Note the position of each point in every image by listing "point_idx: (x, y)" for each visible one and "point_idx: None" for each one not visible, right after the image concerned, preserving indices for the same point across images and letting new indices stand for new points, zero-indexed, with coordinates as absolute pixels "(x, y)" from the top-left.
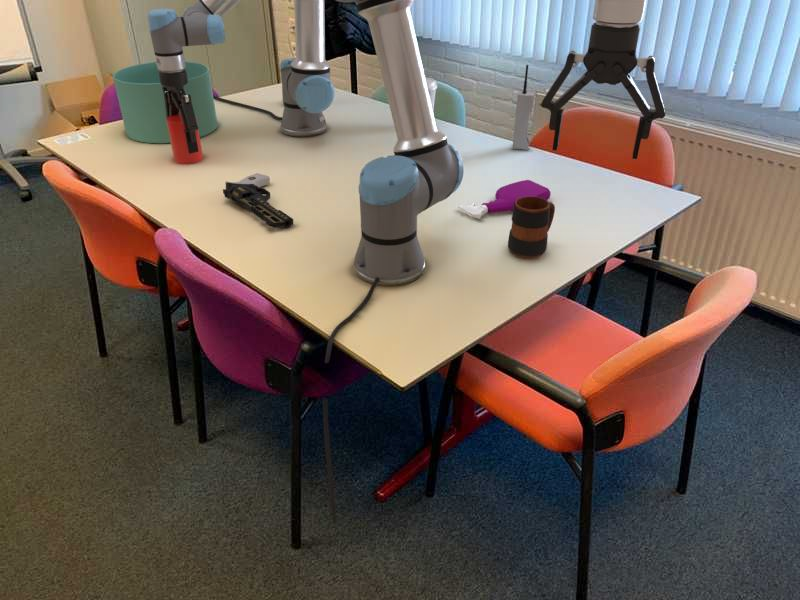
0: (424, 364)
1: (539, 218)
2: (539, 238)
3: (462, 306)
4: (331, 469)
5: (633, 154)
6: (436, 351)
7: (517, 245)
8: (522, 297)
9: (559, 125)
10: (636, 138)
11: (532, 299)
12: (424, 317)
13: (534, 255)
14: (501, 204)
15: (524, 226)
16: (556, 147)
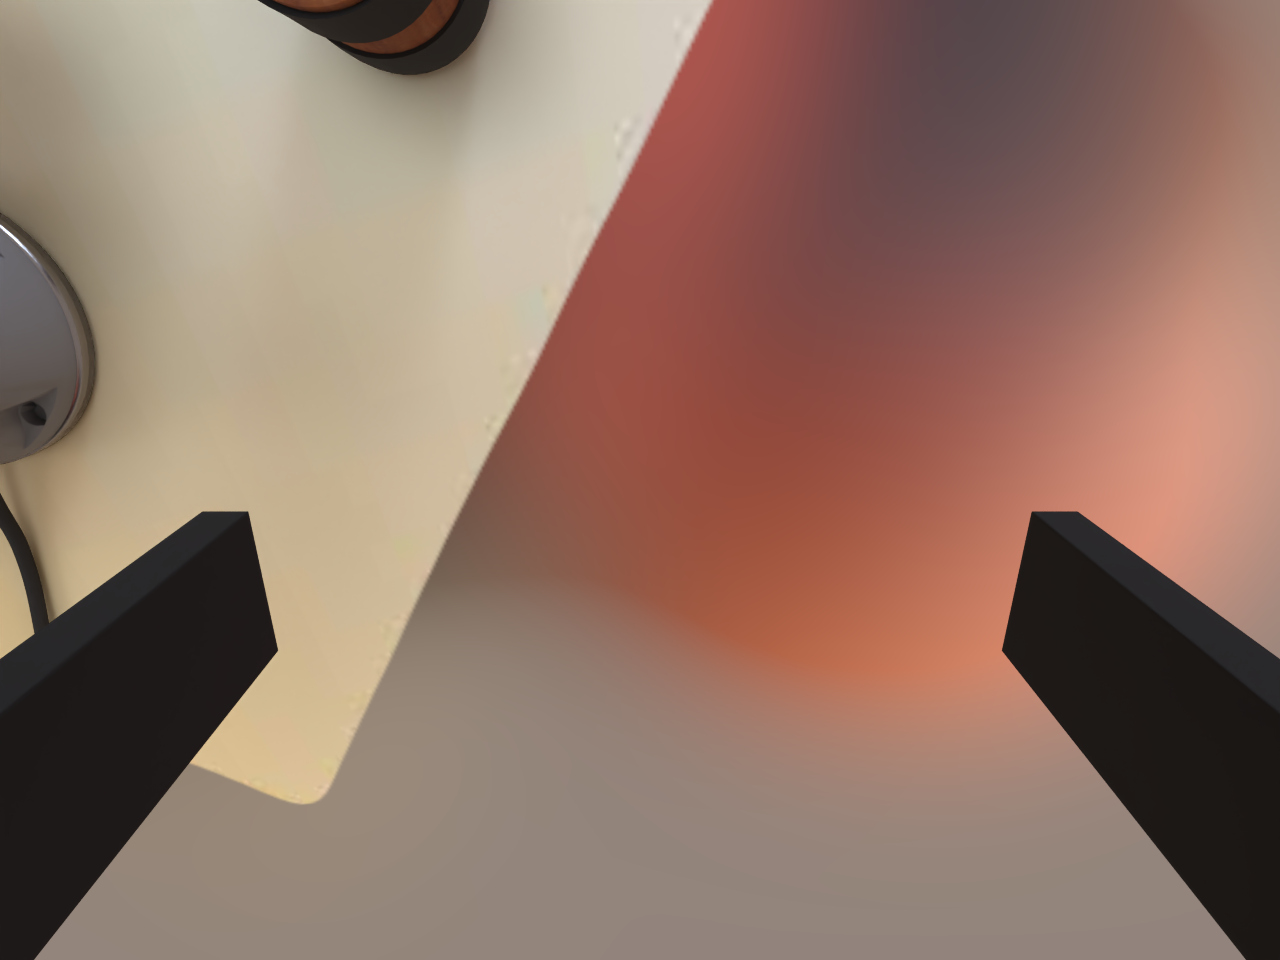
0: (330, 745)
1: (393, 4)
2: (441, 20)
3: (314, 487)
4: None
5: (1024, 676)
6: (335, 697)
7: (356, 57)
8: (482, 376)
9: (96, 869)
10: (1125, 805)
11: (518, 378)
12: None
13: (452, 60)
14: None
15: (339, 39)
16: (256, 667)
